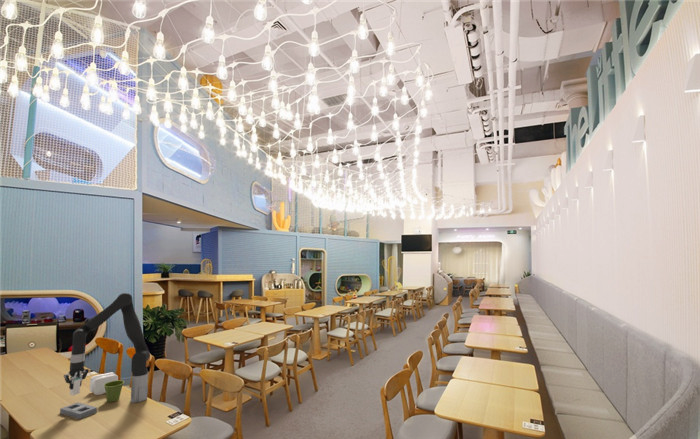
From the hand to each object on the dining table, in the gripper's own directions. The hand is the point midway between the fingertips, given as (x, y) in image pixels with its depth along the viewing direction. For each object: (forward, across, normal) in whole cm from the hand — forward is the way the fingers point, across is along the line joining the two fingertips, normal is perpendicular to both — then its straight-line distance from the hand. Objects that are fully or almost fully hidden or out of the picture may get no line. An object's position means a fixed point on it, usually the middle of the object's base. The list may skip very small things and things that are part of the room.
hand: (75, 387), depth 221 cm
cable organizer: (+15, +28, +16) cm, 35 cm away
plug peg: (+4, 0, 0) cm, 4 cm away
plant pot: (+14, +21, -6) cm, 26 cm away
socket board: (+14, 0, -5) cm, 15 cm away
